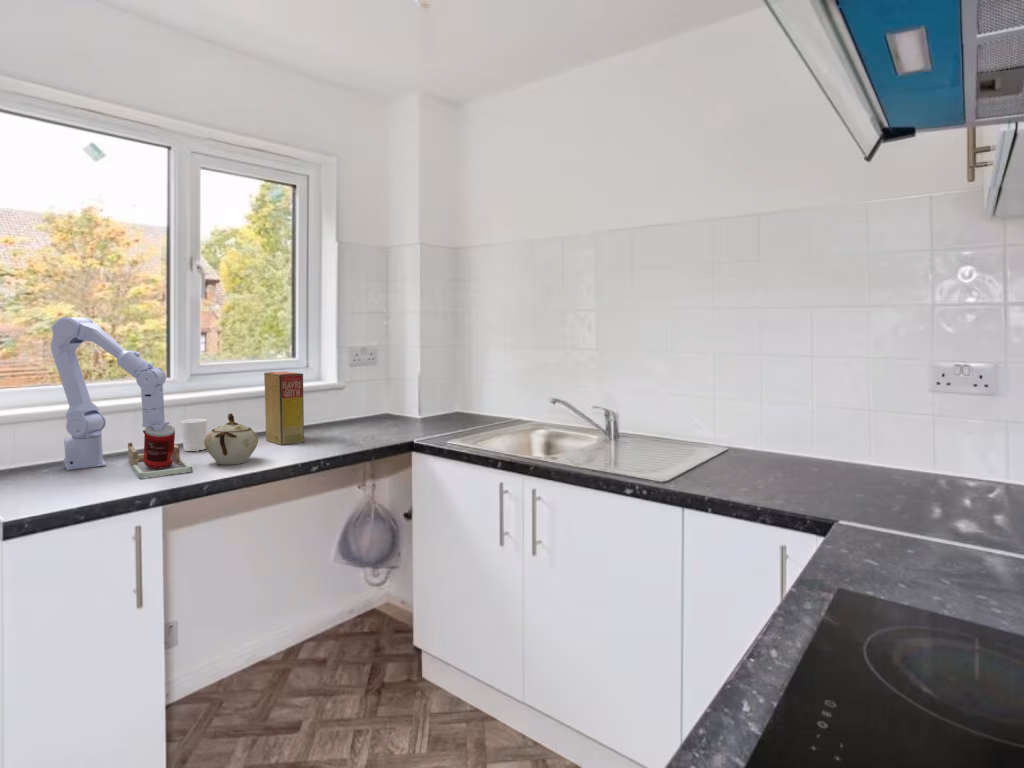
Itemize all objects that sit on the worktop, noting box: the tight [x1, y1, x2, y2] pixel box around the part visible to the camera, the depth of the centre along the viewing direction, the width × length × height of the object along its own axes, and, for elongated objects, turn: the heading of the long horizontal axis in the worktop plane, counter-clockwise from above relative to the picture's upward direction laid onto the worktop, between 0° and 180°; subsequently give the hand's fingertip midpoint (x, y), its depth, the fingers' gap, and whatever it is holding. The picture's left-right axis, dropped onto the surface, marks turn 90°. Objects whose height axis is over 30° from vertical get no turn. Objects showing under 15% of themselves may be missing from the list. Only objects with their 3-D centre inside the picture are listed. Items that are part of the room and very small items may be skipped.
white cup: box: [180, 418, 208, 452], centre depth 205 cm, size 8×8×10 cm
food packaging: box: [263, 371, 305, 446], centre depth 220 cm, size 13×9×25 cm
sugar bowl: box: [204, 413, 259, 466], centre depth 187 cm, size 20×15×15 cm
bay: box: [132, 458, 194, 479], centre depth 175 cm, size 13×13×2 cm
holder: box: [127, 441, 181, 467], centre depth 186 cm, size 12×11×6 cm
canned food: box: [143, 424, 176, 469], centre depth 180 cm, size 8×8×11 cm
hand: (155, 453), depth 184 cm, fingers closed
